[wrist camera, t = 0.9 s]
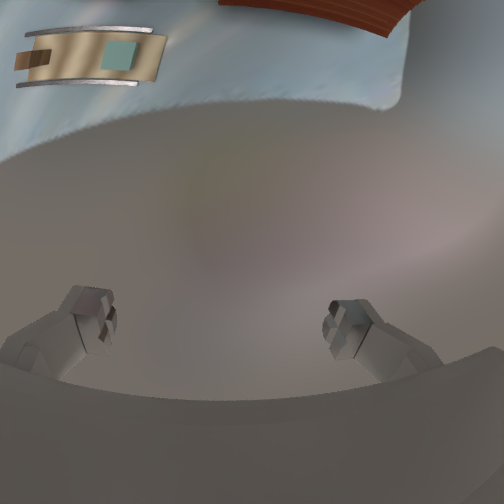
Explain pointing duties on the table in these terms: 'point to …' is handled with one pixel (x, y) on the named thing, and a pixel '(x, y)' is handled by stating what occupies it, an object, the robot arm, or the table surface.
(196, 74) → the table surface
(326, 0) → the house
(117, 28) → the track
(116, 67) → the cube
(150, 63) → the tan long piece
